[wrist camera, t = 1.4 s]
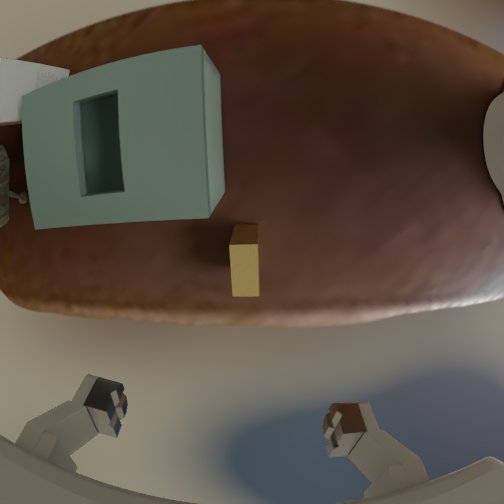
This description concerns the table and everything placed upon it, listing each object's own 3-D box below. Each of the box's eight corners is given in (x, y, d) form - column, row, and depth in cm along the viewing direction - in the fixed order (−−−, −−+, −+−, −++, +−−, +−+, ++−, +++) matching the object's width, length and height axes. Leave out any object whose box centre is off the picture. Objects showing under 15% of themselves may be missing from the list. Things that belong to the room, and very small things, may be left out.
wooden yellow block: (258, 223, 30) (257, 244, 25) (259, 268, 32) (259, 296, 27) (234, 224, 30) (229, 244, 25) (237, 268, 32) (232, 296, 27)
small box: (20, 124, 26) (-55, 135, 14) (27, 78, 23) (-47, 74, 11) (64, 120, 26) (-18, 126, 14) (71, 69, 24) (-7, 54, 11)
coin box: (220, 74, 25) (200, 45, 15) (225, 191, 29) (208, 218, 20) (80, 100, 25) (22, 96, 16) (88, 202, 30) (35, 229, 20)
